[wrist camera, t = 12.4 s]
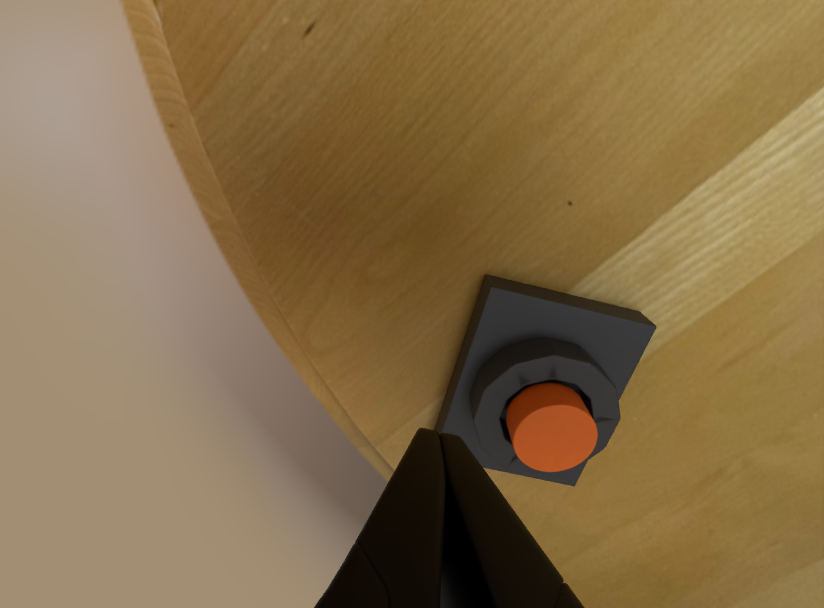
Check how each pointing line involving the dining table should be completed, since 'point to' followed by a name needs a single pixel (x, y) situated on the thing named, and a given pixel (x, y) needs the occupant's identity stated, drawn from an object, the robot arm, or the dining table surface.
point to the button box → (538, 366)
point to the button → (550, 427)
